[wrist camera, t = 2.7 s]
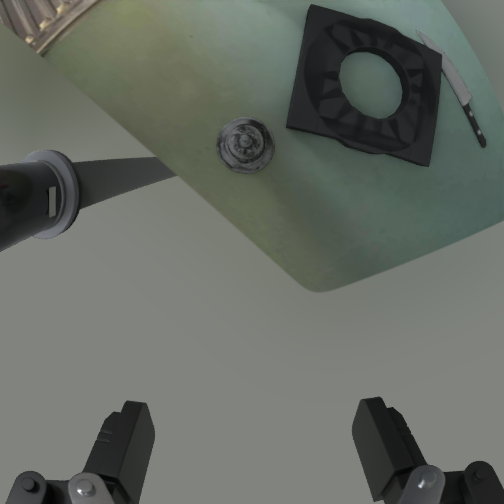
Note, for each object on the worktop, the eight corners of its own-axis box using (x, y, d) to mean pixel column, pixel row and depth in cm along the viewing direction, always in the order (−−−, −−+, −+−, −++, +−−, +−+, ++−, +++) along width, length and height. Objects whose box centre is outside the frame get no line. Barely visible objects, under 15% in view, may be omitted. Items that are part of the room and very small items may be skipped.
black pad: (284, 132, 33) (287, 130, 31) (308, 7, 28) (311, 0, 26) (420, 170, 34) (428, 171, 32) (435, 54, 29) (442, 51, 27)
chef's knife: (426, 24, 28) (414, 30, 29) (430, 22, 27) (418, 27, 28) (490, 140, 33) (480, 149, 33) (495, 140, 32) (485, 149, 32)
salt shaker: (220, 172, 34) (207, 180, 23) (219, 121, 33) (205, 104, 21) (272, 171, 34) (285, 179, 23) (271, 120, 33) (284, 103, 21)
